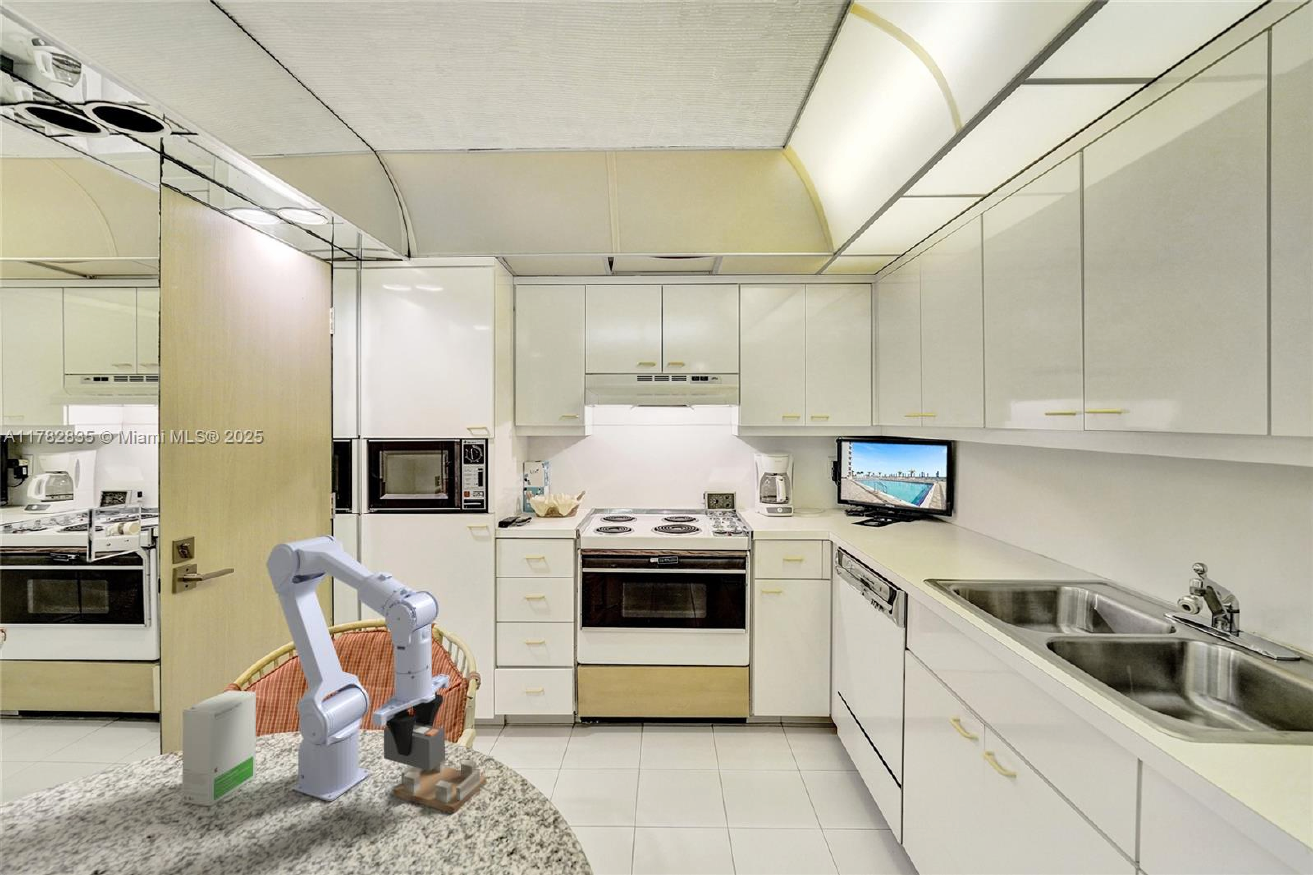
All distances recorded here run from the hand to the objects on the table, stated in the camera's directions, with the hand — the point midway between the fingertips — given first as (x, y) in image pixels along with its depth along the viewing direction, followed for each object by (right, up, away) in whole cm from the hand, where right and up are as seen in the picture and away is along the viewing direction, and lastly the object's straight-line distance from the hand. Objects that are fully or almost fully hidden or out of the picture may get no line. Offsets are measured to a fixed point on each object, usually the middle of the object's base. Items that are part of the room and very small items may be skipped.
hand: (413, 747), depth 87 cm
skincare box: (-36, -10, +3) cm, 37 cm away
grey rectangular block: (0, -2, 0) cm, 2 cm away
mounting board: (+3, -9, +3) cm, 10 cm away
